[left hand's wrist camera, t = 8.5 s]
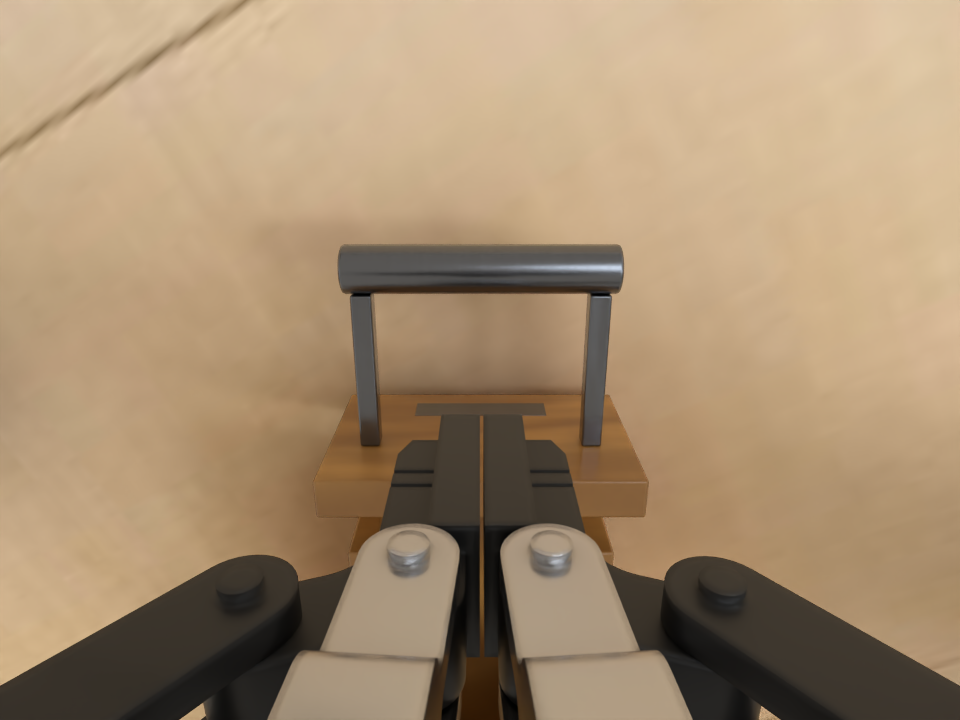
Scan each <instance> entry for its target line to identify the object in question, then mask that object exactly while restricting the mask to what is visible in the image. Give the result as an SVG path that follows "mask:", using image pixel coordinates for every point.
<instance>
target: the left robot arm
mask: <svg viewBox="0 0 960 720" xmlns="http://www.w3.org/2000/svg"><path fill="white" fill-rule="evenodd" d="M483 549H484V657H498V668H499V699H498V702H499V715H500V720H759V714H760V709H761V706H763V707H764V708H765V709H767V710H768V711H769V712H771V713H772V714H774V715H775V716H776V717H778V718H779V719H781V720H960V686H959V685H957V684H956V683H954V682H952V681H950V680H948V679H947V678H945V677H943V676H941V675H939V674H938V673H936V672H934V671H932V670H931V669H929V668H927V667H925V666H923V665H922V664H920V663H918V662H916V661H914V660H913V659H911V658H909V657H907V656H906V655H904V654H902V653H900V652H898V651H897V650H895V649H893V648H891V647H890V646H888V645H886V644H884V643H882V642H881V641H879V640H877V639H875V638H873V637H872V636H870V635H868V634H866V633H865V632H863V631H861V630H859V629H857V628H856V627H854V626H852V625H850V624H848V623H847V622H845V621H843V620H841V619H840V618H838V617H836V616H834V615H832V614H831V613H829V612H827V611H825V610H824V609H822V608H820V607H818V606H816V605H815V604H813V603H811V602H809V601H807V600H806V599H804V598H802V597H800V596H799V595H797V594H795V593H793V592H791V591H790V590H788V589H786V588H784V587H782V586H781V585H779V584H777V583H775V582H774V581H772V580H770V579H768V578H766V577H765V576H763V575H761V574H759V573H758V572H756V571H754V570H752V569H750V568H748V567H746V566H744V565H742V564H739V563H737V562H734V561H731V560H727V559H723V558H718V557H708V556H699V557H691V558H687V559H683V560H681V561H679V562H677V563H675V564H674V565H673V566H671V567H670V568H669V570H668V571H667V573H666V576H665V580H664V581H662V580H658V579H653V578H649V577H644V576H640V575H636V574H632V573H629V572H626V571H623V570H621V569H618V568H616V567H614V566H612V565H610V564H609V563H607V562H606V561H605V560H604V558H603V555H602V552H601V550H600V548H599V546H598V545H597V544H596V543H595V541H594V540H593V539H591V538H590V537H589V536H588V535H586V533H585V529H584V525H583V521H582V517H581V513H580V509H579V505H578V501H577V497H576V493H575V489H574V487H573V481H572V477H571V473H570V469H569V465H568V461H567V457H566V454H565V453H564V452H563V451H562V450H561V449H560V448H559V447H558V446H557V445H556V444H555V443H554V442H553V441H551V440H526V439H525V432H524V424H523V417H522V414H483ZM466 657H480V414H441V421H440V428H439V436H438V440H412V441H411V442H410V443H409V444H408V445H407V446H406V447H405V448H404V449H403V450H401V451H400V452H399V453H398V456H397V460H396V464H395V468H394V473H393V476H392V481H391V487H390V489H389V493H388V497H387V502H386V506H385V510H384V514H383V518H382V522H381V527H380V531H379V532H377V533H376V534H374V535H372V536H371V537H370V538H369V539H367V540H366V541H365V543H364V544H363V545H362V546H361V548H360V550H359V552H358V555H357V558H356V560H355V563H354V565H353V566H351V567H349V568H347V569H345V570H342V571H339V572H337V573H333V574H330V575H326V576H321V577H317V578H313V579H308V580H304V581H299V582H298V576H297V573H296V570H295V569H294V568H293V566H292V565H290V564H289V563H288V562H287V561H285V560H283V559H280V558H277V557H274V556H268V555H248V556H242V557H237V558H234V559H230V560H227V561H225V562H222V563H220V564H218V565H215V566H213V567H211V568H210V569H208V570H206V571H204V572H203V573H201V574H199V575H197V576H195V577H194V578H192V579H190V580H188V581H186V582H185V583H183V584H181V585H179V586H178V587H176V588H174V589H172V590H170V591H169V592H167V593H165V594H163V595H161V596H160V597H158V598H156V599H154V600H153V601H151V602H149V603H147V604H145V605H144V606H142V607H140V608H138V609H137V610H135V611H133V612H131V613H129V614H128V615H126V616H124V617H122V618H120V619H119V620H117V621H115V622H113V623H112V624H110V625H108V626H106V627H104V628H103V629H101V630H99V631H97V632H95V633H94V634H92V635H90V636H88V637H87V638H85V639H83V640H81V641H79V642H78V643H76V644H74V645H72V646H71V647H69V648H67V649H65V650H63V651H62V652H60V653H58V654H56V655H54V656H53V657H51V658H49V659H47V660H46V661H44V662H42V663H40V664H38V665H37V666H35V667H33V668H31V669H29V670H28V671H26V672H24V673H22V674H21V675H19V676H17V677H15V678H13V679H12V680H10V681H8V682H6V683H4V684H3V685H1V686H0V720H179V719H181V718H182V717H184V716H185V715H186V714H188V713H189V712H191V711H192V710H193V709H195V708H196V707H197V706H199V705H200V704H202V703H203V704H204V709H205V714H206V716H205V717H204V718H202V719H201V720H460V715H461V702H462V699H461V691H462V689H463V687H464V684H465V679H466Z"/></svg>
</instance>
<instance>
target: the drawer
mask: <svg viewBox="0 0 960 720" xmlns="http://www.w3.org/2000/svg"><path fill="white" fill-rule="evenodd" d="M623 277H624V256H623V251H622V248H621V246H620V245H617V244H344V245H342V246H341V247H340V250H339V255H338V279H339V285H340V288H341V290H342V292H343V293H345V294H352V295H351V296H350V306H351V320H352V334H353V347H354V361H355V374H356V388H357V395H352V396H351V399H350V401H349V403H348V405H347V408H346V410H345V412H344V414H343V416H342V419H341V421H340V423H339V425H338V428H337V430H336V432H335V434H334V436H333V439H332V441H331V443H330V445H329V448H328V450H327V452H326V454H325V457H324V459H323V461H322V463H321V465H320V468H319V470H318V472H317V474H316V477H315V479H314V481H313V487H314V497H315V506H316V515H317V517H359V518H358V522H357V525H356V528H355V532H354V535H353V539H352V542H351V545H350V549H349V552H348V559H349V567H351V566H353V565H354V563H355V560H356V558H357V555H358V552H359V550H360V548H361V546H362V545H363V544H364V543H365V541H366V540H367V539H369V538H370V537H371V536H372V535H374V534H376V533H377V532H379V531H380V527H381V522H382V518H383V514H384V510H385V506H386V502H387V497H388V493H389V489H390V487H391V481H392V476H393V473H394V468H395V464H396V460H397V456H398V453H399V452H400V451H401V450H403V449H404V448H405V447H406V446H407V445H408V444H409V443H410V442H411V441H412V440H438V436H439V428H440V421H441V414H480V657H466V679H465V684H464V687H463V689H462V691H461V699H462V702H461V715H460V720H500V715H499V702H498V699H499V668H498V657H484V549H483V414H522V417H523V424H524V432H525V439H526V440H551V441H553V442H554V443H555V444H556V445H557V446H558V447H559V448H560V449H561V450H562V451H563V452H564V453H565V454H566V457H567V461H568V465H569V469H570V473H571V477H572V481H573V487H574V489H575V493H576V497H577V501H578V505H579V509H580V513H581V517H582V521H583V525H584V529H585V533H586V535H588V536H589V537H590V538H591V539H593V540H594V541H595V543H596V544H597V545H598V546H599V548H600V550H601V552H602V555H603V558H604V560H605V561H606V562H607V563H609V564H610V565H612V566H613V555H614V553H613V550H612V546H611V543H610V540H609V537H608V533H607V530H606V527H605V523H604V520H603V517H644V516H645V513H646V503H647V494H648V484H649V482H648V479H647V477H646V475H645V473H644V470H643V468H642V466H641V464H640V462H639V460H638V457H637V455H636V453H635V451H634V449H633V446H632V444H631V442H630V440H629V438H628V435H627V433H626V431H625V429H624V427H623V425H622V422H621V420H620V418H619V416H618V414H617V411H616V409H615V407H614V405H613V403H612V400H611V398H610V396H609V395H605V384H606V370H607V357H608V343H609V330H610V316H611V303H612V296H611V295H610V294H617V293H619V292H620V290H621V287H622V283H623ZM374 294H588V296H587V313H586V329H585V346H584V362H583V379H582V395H380V388H379V372H378V355H377V338H376V321H375V304H374Z"/></svg>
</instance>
